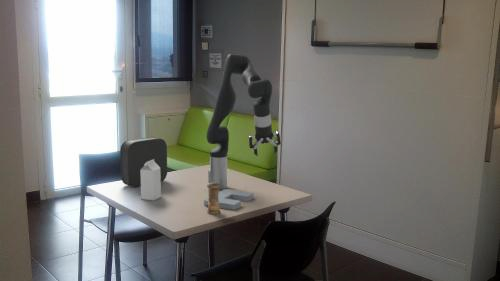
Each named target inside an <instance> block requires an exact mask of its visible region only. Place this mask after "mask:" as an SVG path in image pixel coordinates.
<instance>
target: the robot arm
mask: <svg viewBox="0 0 500 281" xmlns="http://www.w3.org/2000/svg"><path fill="white" fill-rule="evenodd" d="M223 67H224V68H223V74H222V79H221V82H220V86H219V90H218V94H217V97H216V102H215V107H214V110H213V114H212V115H211V116H212V117H211V120H210V122H209V125H208V127H207V132H206V141H207V143H208V144H210V145H216V147H214V148H212V149H211V150H210V151H209V170H207V171H208V173H207V174H208V179H207V180H208V183H207V184H209V183H219V184H220V187H219V188H218V190H225V189H227V188H228V152H229V140H230V134H229V133H230V132H229V129H228V127H226V126H225V125H222V123H223V122H224V120H225V119H226V118H227V117H228V116H229V115H230V114H231V112H232V111H233V109H234V108H235V104H236V99H237V96H236V92H235V91H236V90H235V89H234V87H233V85H232V80H231V78H232V74H234V75H241V79H242V82H243V83H244V85H245V86H246V88H247V94H248V96H249V97H250V98H252V99H257V100H255V101H254V102H253V104H252V106H253V116H254V118H253V122H254V130H255V132H254V133H255V135H252V134H249V135H248V146H249V148H250V149H253V154H254V155H255V156H256V157H257V156H258V155H259V154H258V147H259V146H260V145H261V144H269V143H270V144H271V145H273V153H274V154H276V153H277V152H278V146H280V145H281V144H282V143H281V136H280V132H279V131H278V130H276V132H273V125H272V115H271V111H270V110H271V109H270V104H271V98H272V93H273V84H272V82H271V81H270V80H269V79H266V78H265V79H262V78H261V76H260V75H259V74H258V73H257V72H256V71H255V69H254V67H253V64H252V63H251V61H250V58H249V57H247V56H246V55H242V54H236V53H229V54H227V57H226V58H225V62H224V66H223ZM258 98H259V99H258ZM273 137H275V138H276V140H275V139H274V138H273ZM254 139H255V142H253V141H254ZM217 144H218V145H217Z"/></svg>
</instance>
